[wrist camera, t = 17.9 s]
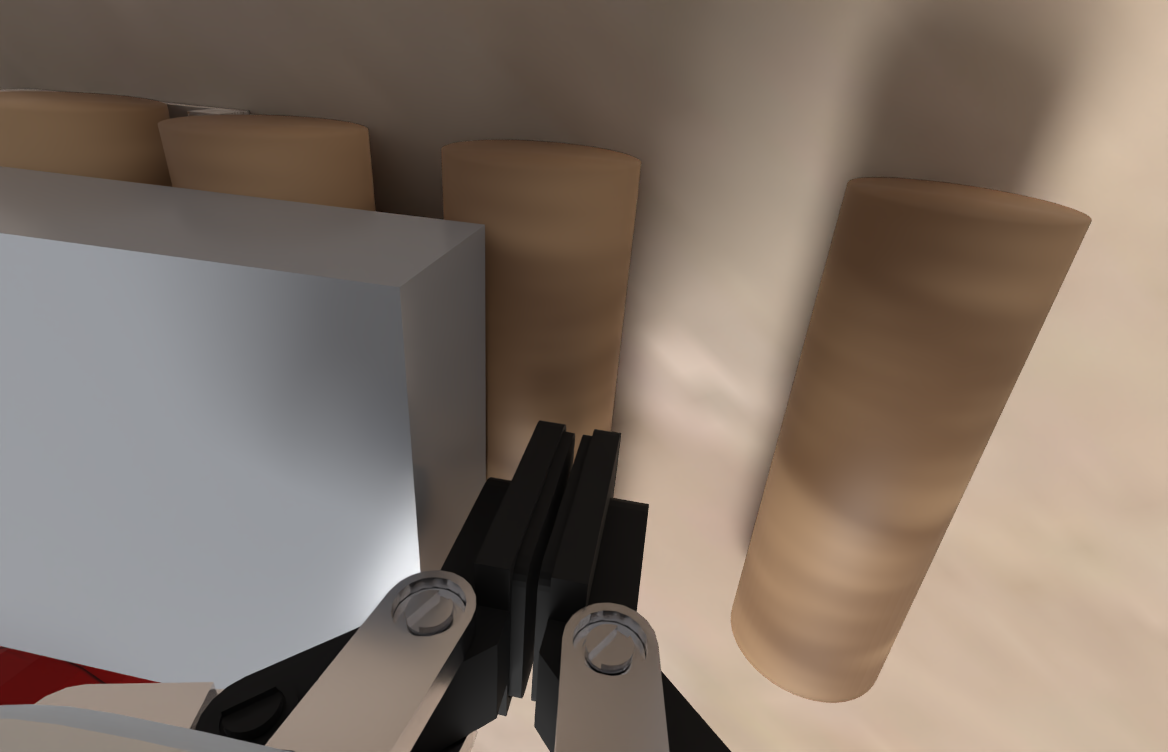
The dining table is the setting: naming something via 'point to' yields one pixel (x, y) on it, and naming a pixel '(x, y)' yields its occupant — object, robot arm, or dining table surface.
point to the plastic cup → (47, 676)
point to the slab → (225, 419)
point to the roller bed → (823, 378)
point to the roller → (84, 135)
